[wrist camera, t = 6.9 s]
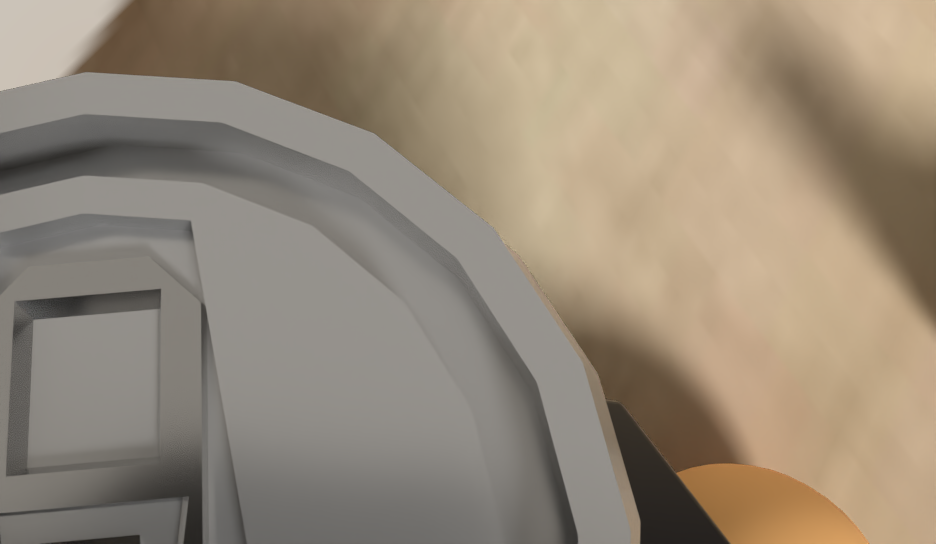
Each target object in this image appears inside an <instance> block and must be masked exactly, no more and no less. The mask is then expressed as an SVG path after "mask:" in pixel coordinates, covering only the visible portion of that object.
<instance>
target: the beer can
mask: <svg viewBox="0 0 936 544" xmlns="http://www.w3.org/2000/svg"><path fill="white" fill-rule="evenodd" d="M640 524H641V521H640V517H639V514H638V511H637V507H636V504H635V500H634V497H633V493H632V490H631V486H630V483H629V479H628V476H627V472H626V469H625V465H624V462H623V459H622V455H621V452H620V448H619V445H618V441H617V438H616V434H615V431H614V427H613V424H612V420H611V417H610V413H609V410H608V407H607V403H606V400H605V396H604V393H603V389H602V386H601V382H600V379H599V375H598V373H597V372H596V370H595V369H594V367H593V366H592V364H591V363H590V361H589V360H588V358H587V357H586V355H585V354H584V352H583V351H582V349H581V348H580V346H579V345H578V343H577V342H576V340H575V339H574V337H573V336H572V334H571V333H570V331H569V330H568V328H567V327H566V325H565V324H564V322H563V321H562V319H561V318H560V316H559V315H558V313H557V312H556V310H555V309H554V307H553V305H552V304H551V302H550V301H549V299H548V298H547V296H546V295H545V293H544V292H543V290H542V289H541V287H540V286H539V284H538V283H537V281H536V280H535V278H534V277H533V275H532V274H531V272H530V271H529V269H528V268H527V266H526V265H525V263H524V262H523V260H522V259H521V257H520V256H519V255H518V254H517V253H516V252H514V251H513V250H512V249H510V248H509V247H508V246H507V245H505V244H504V243H503V242H502V240H501V238H500V237H499V235H498V234H497V232H496V231H495V229H494V228H493V227H492V226H490V225H489V224H488V223H487V222H485V221H484V220H483V219H482V218H480V217H479V216H478V215H477V214H475V213H474V212H473V211H471V210H470V209H469V208H468V207H466V206H465V205H464V204H463V203H461V202H460V201H459V200H458V199H456V198H455V197H454V196H453V195H451V194H450V193H449V192H448V191H446V190H445V189H444V188H442V187H441V186H440V185H439V184H437V183H436V182H435V181H434V180H432V179H431V178H430V177H429V176H427V175H426V174H425V173H424V172H422V171H421V170H420V169H419V168H417V167H416V166H415V165H413V164H412V163H411V162H410V161H408V160H407V159H406V158H405V157H403V156H402V155H401V154H400V153H398V152H397V151H396V150H395V149H393V148H392V147H391V146H390V145H388V144H387V143H386V142H385V141H383V140H382V139H381V138H379V137H378V136H377V135H376V134H374V133H372V132H369V131H366V130H364V129H361V128H359V127H356V126H353V125H351V124H348V123H345V122H343V121H340V120H337V119H335V118H332V117H329V116H327V115H324V114H321V113H319V112H316V111H313V110H311V109H308V108H305V107H303V106H300V105H297V104H295V103H292V102H289V101H287V100H284V99H281V98H279V97H276V96H273V95H271V94H268V93H265V92H263V91H260V90H257V89H255V88H252V87H249V86H247V85H244V84H241V83H239V82H236V81H223V80H207V79H190V78H174V77H157V76H141V75H124V74H108V73H91V72H84V73H80V74H75V75H71V76H66V77H62V78H57V79H53V80H49V81H44V82H40V83H35V84H31V85H27V86H22V87H17V88H13V89H9V90H4V91H0V544H640Z"/></svg>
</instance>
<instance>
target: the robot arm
mask: <svg viewBox="0 0 936 544" xmlns="http://www.w3.org/2000/svg"><path fill="white" fill-rule="evenodd" d="M605 400H606V399H605ZM606 403H607V407H608V410H609V413H610V417H611V420H612V424H613V427H614V431H615V434H616V438H617V441H618V445H619V448H620V452H621V455H622V459H623V462H624V465H625V469H626V472H627V476H628V479H629V483H630V486H631V490H632V493H633V497H634V500H635V504H636V507H637V511H638V514H639V517H640V521H641V524H640V544H731V543H730V542H729V541H728V539H727V538H726V537H725V536H724V534H723V533H722V532H721V530H720V529H719V528H718V527H717V525H716V524H715V523H714V521H713V520H712V519H711V517H710V516H709V515H708V514H707V512H706V511H705V510H704V508H703V507H702V506H701V505H700V503H699V502H698V501H697V499H696V498H695V497H694V495H693V494H692V493H691V492H690V490H689V489H688V488H687V486H686V485H685V484H684V483H683V481H682V480H681V479H680V477H679V476H678V475H677V473H676V472H675V471H674V470H673V468H672V467H671V466H670V464H669V463H668V462H667V461H666V459H665V458H664V457H663V455H662V454H661V453H660V451H659V450H658V449H657V448H656V446H655V445H654V444H653V442H652V441H651V440H650V439H649V437H648V436H647V435H646V433H645V432H644V431H643V429H642V428H641V427H640V426H639V424H638V423H637V422H636V420H635V419H634V418H633V417H632V415H631V414H630V413H629V411H628V410H627V409H626V407H625V406H624V405H623V404H622V403H620V402H619V401H615V400H606Z"/></svg>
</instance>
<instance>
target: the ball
mask: <svg viewBox="0 0 936 544" xmlns="http://www.w3.org/2000/svg"><path fill="white" fill-rule="evenodd" d="M677 475H678V476H679V477H680V479H681V480H682V481H683V483H684V484H685V485H686V486H687V488H688V489H689V490H690V492H691V493H692V494H693V495H694V497H695V498H696V499H697V501H698V502H699V503H700V505H701V506H702V507H703V508H704V510H705V511H706V512H707V514H708V515H709V516H710V517H711V519H712V520H713V521H714V523H715V524H716V525H717V527H718V528H719V529H720V530H721V532H722V533H723V534H724V536H725V537H726V538H727V539H728V541H729V542H730V543H731V544H869V542H868V541H867V540H866V538H865V537H864V535H863V534H862V533H861V531H860V530H859V529H858V527H857V526H856V525H855V524H854V523H853V522H852V521H851V520H850V519H849V517H848V516H847V515H846V514H845V513H844V512H843V511H842V510H840V509H839V508H838V507H837V506H836V505H835V504H833V503H832V502H831V501H830V500H829V499H827V498H826V497H824V496H823V495H821V494H820V493H818V492H817V491H815V490H814V489H812V488H811V487H809V486H807V485H806V484H804V483H802V482H800V481H798V480H796V479H794V478H792V477H790V476H787V475H784V474H782V473H779V472H776V471H773V470H770V469H766V468H761V467H756V466H751V465H743V464H730V463H724V464H708V465H703V466H698V467H692V468H689V469H686V470H683V471H680V472H677Z"/></svg>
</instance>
